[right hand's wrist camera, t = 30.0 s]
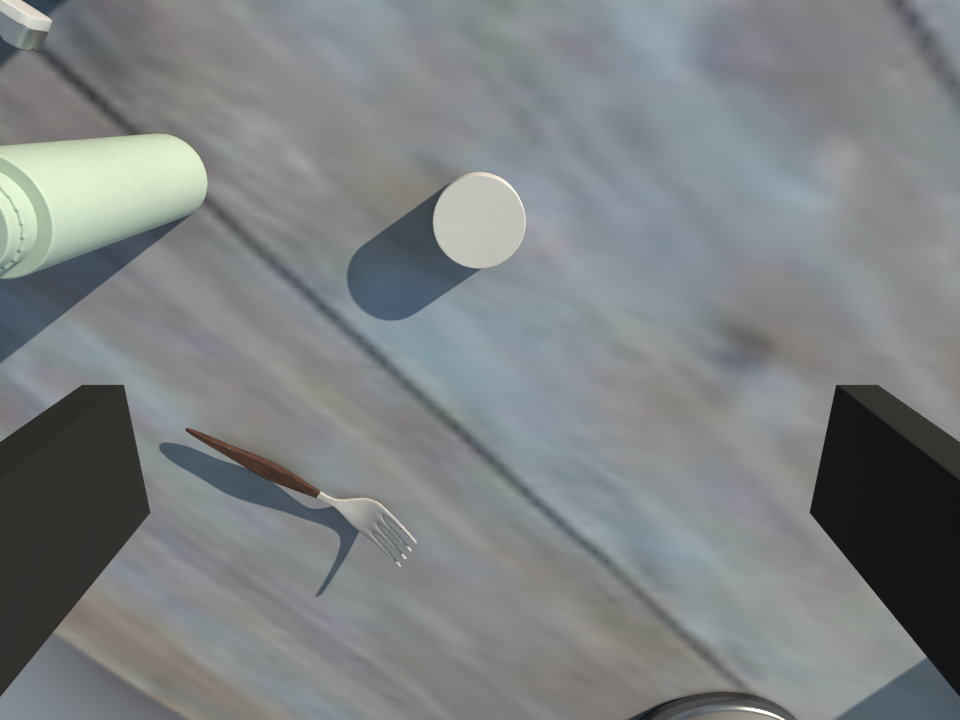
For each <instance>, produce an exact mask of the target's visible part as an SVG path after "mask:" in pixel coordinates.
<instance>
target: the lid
mask: <svg viewBox="0 0 960 720" xmlns="http://www.w3.org/2000/svg"><path fill="white" fill-rule="evenodd" d="M433 231H434V235H435V238H436V240H437V243H438V244H439V246H440V248H441V249H442V251H443V252H444V253H445V254H446V255H447V256H448V257H449V258H450V259H452V260H453V261H455V262H456V263H458V264H460V265H462V266H465V267H469V268H476V269H482V268H489V267H493V266H496V265H498V264H500V263H502V262H504V261H505V260H507V259H508V258H509V257H510V256H511V255H512V254H513V253H514V252H515V251H516V250H517V248H518V246H519V245H520V243H521V241H522V238H523V235H524V231H525V213H524V209H523V206H522V203H521V201H520V199H519V197H518V195H517V193H516V192H515V190H514V189H513V188H512V187H511V185H510V184H508V183H507V182H506V181H505V180H503V179H502V178H500V177H498V176H496V175H493V174H490V173H484V172H475V173H469V174H465V175H463V176H460V177H458V178H457V179H455V180H454V181H452V182H451V183H450V184H449V185H448V186H447V187H446V188H445V189H444V190H443V192H442V193H441V195H440V197H439V199H438V201H437V204H436V206H435V209H434V214H433Z"/></svg>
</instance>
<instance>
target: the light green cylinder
mask: <svg viewBox="0 0 960 720" xmlns="http://www.w3.org/2000/svg"><path fill="white" fill-rule="evenodd" d="M206 192H207V175H206V171H205V168H204V165H203V163H202V161H201V159H200V157H199V156H198V155H197V153H196V152H195V151H194V150H193V149H192V148H191V147H190V146H189V145H188V144H187V143H185V142H184V141H182V140H180V139H178V138H176V137H174V136H171V135H167V134H145V135H132V136H120V137H107V138H94V139H82V140H69V141H57V142H44V143H31V144H19V145H6V146H0V279H14V278H20V277H23V276H26V275H29V274H32V273H34V272H37V271H40V270H42V269H45V268H48V267H50V266H53V265H56V264H59V263H61V262H64V261H67V260H69V259H72V258H75V257H78V256H80V255H83V254H86V253H88V252H91V251H94V250H97V249H99V248H102V247H105V246H107V245H110V244H113V243H116V242H118V241H121V240H124V239H126V238H129V237H132V236H135V235H137V234H140V233H143V232H145V231H148V230H151V229H153V228H156V227H159V226H162V225H164V224H167V223H170V222H172V221H175V220H178V219H181V218H183V217H186V216H188V215H190V214H192V213H193V212H195V211H196V210H197V209H198V208H199V207H200V205H201V204H202V202H203V200H204V198H205V196H206Z"/></svg>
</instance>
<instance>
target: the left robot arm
mask: <svg viewBox="0 0 960 720" xmlns="http://www.w3.org/2000/svg"><path fill="white" fill-rule="evenodd" d="M51 23H52V20H51V19H50V18H49V17H47V16H45V15H44V14H42V13H41V12H39V11H38V10H36V9H34V8H33V7H31V6H30V5H28V4H27V3H25V2H23V1H22V0H0V35H1V37H2V39H3V40H4V41H5V42H7V43H9V44H10V45H12V46H14V47H16V48H19V49H22V50H25V51H30V50H33V51H35V52H40V51H41V48H42V46H43V44H44V41H45V39H46V36H47V34H48V32H49V29H50V26H51Z"/></svg>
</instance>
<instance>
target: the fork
mask: <svg viewBox="0 0 960 720" xmlns="http://www.w3.org/2000/svg"><path fill="white" fill-rule="evenodd" d="M186 431H187V432H188V433H190V434H191V435H193V436H194V437H196V438H197V439H199V440H200V441H202V442H204V443H205V444H207V445H209V446H211V447H212V448H214V449H216V450H217V451H219V452H221V453H223V454H224V455H226V456H228V457H229V458H231V459H233V460H234V461H236V462H238V463H239V464H241V465H243V466H244V467H246V468H247V469H249V470H251V471H253V472H254V473H256V474H258V475H260V476H261V477H263V478H266V479H268V480H270V481H272V482H275V483H277V484H280V485H282V486H285V487H288V488H290V489H293V490H296V491H298V492H301V493H304V494H307V495H309V496H312V497H315V498H317V499H320V500H322V501H325V502H327V503H329V504H331V505H332V506H334V507H335V508H336V509H337V510H338V511H339V512H340V513H341V514H342V515H343V516H344V517H345V519H346V520H347V521H348V522H349V523H350V524H351V525H352V526H353V527H355V528H356V529H357V530H358V531H360V532H361V533H362V534H364V535H365V536H366V537H368V538H369V539H370V540H372V541H373V542H374V543H375V544H376V545H377V546H379V547H380V548H381V549H382V550H383V551H384V552H385V553H386V554H387V555H388V556H389V557H390V558H391V559H392V560H393V561H394V562H395V563H396V564H397V565H398V566H399V567H401V565H400V564H399V562H398V561H397V560H396V559H395V558H394V557H393V555H392V554H391V553H390V552H389V551H388V550H387V549H386V548H385V546H384V545H383V544H382V543H381V542H380V541H379V540H378V539H377V538H376V537H375V535H374V532H376V533H377V534H379V535H380V536H381V537H382V538H383V539H384V540H385V541H387V542H388V543H389V544H390V545H391V546H392V547H393V548H394V549H395V550H396V551H397V552H398V553H399V554H400V555H401V556H402V557H403V558H404V559H406V557H405V556H404V554H403V553H402V552H401V551H400V550H399V549H398V548H397V546H396V545H395V544H394V543H393V542H392V541H391V540H390V539H389V538H388V536H387V535H386V534H385V533H384V532H383V531H382V530H381V529H380V528H379V524H380V525H382V526H383V527H385V528H386V529H387V530H388V531H389V532H390V533H391V534H393V535H394V536H395V537H396V538H397V539H398V540H399V541H400V542H401V543H402V544H403V545H404V546H405V547H406V548H407V549H408V550H409V551H412V550H411V549H410V548H409V546H408V545H407V544H406V543H405V542H404V541H403V539H402V538H401V537H400V536H399V535H398V534H397V533H396V532H395V531H394V530H393V529H392V527H391V526H390V525H389V524H388V523H387V522H386V521H385V520H384V517H387V518H388V519H390V520H391V521H392V522H393V523H394V524H395V525H397V526H398V527H399V528H400V529H401V530H402V531H403V532H404V533H405V534H406V535H407V536H408V537H409V538H411V539H412V540H413V542H414V543H415V544H416V543H417V541H416V540H415V539H414V538H413V537H412V536H411V535H410V534H409V532H408V531H407V530H406V529H405V528H404V527H403V526H402V525H401V524H400V523H399V521H398V520H397V519H396V518H395V517H394V516H393V515H392V514H391V513H390V512H389V511H388V510H387V509H386V508H385V507H383V506H382V505H381V504H380V503H378V502H377V501H375V500H372V499H369V498H352V499H335V498H332V497H329V496H328V495H326V494H324V493H322V492H321V491H319V490H318V489H316V488H315V487H313V486H312V485H310V484H308V483H307V482H305V481H304V480H302V479H301V478H299V477H298V476H296V475H295V474H293V473H291V472H290V471H288V470H287V469H285V468H283V467H281V466H280V465H278V464H276V463H274V462H272V461H270V460H267V459H265V458H262V457H260V456H257V455H255V454H252V453H250V452H247V451H244V450H242V449H239V448H237V447H234V446H232V445H229V444H227V443H225V442H222V441H220V440H218V439H215V438H213V437H211V436H208V435H206V434H203V433H201V432H198V431H196V430H193V429H189V428H186Z"/></svg>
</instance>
